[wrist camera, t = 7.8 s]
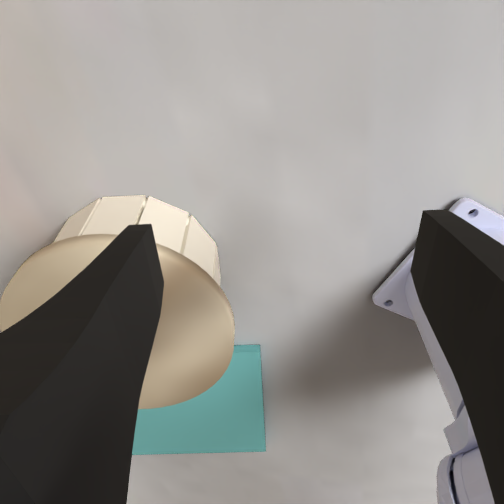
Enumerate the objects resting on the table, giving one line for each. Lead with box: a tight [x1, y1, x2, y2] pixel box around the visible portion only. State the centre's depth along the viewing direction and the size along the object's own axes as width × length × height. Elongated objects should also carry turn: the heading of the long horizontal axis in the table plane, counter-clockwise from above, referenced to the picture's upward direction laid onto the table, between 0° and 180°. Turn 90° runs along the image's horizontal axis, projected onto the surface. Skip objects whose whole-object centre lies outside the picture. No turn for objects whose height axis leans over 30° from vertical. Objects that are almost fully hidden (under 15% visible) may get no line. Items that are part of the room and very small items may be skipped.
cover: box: [0, 234, 235, 409], centre depth 20 cm, size 11×11×5 cm
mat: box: [132, 345, 266, 455], centre depth 33 cm, size 12×12×1 cm
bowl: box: [53, 195, 221, 286], centre depth 24 cm, size 9×9×4 cm
